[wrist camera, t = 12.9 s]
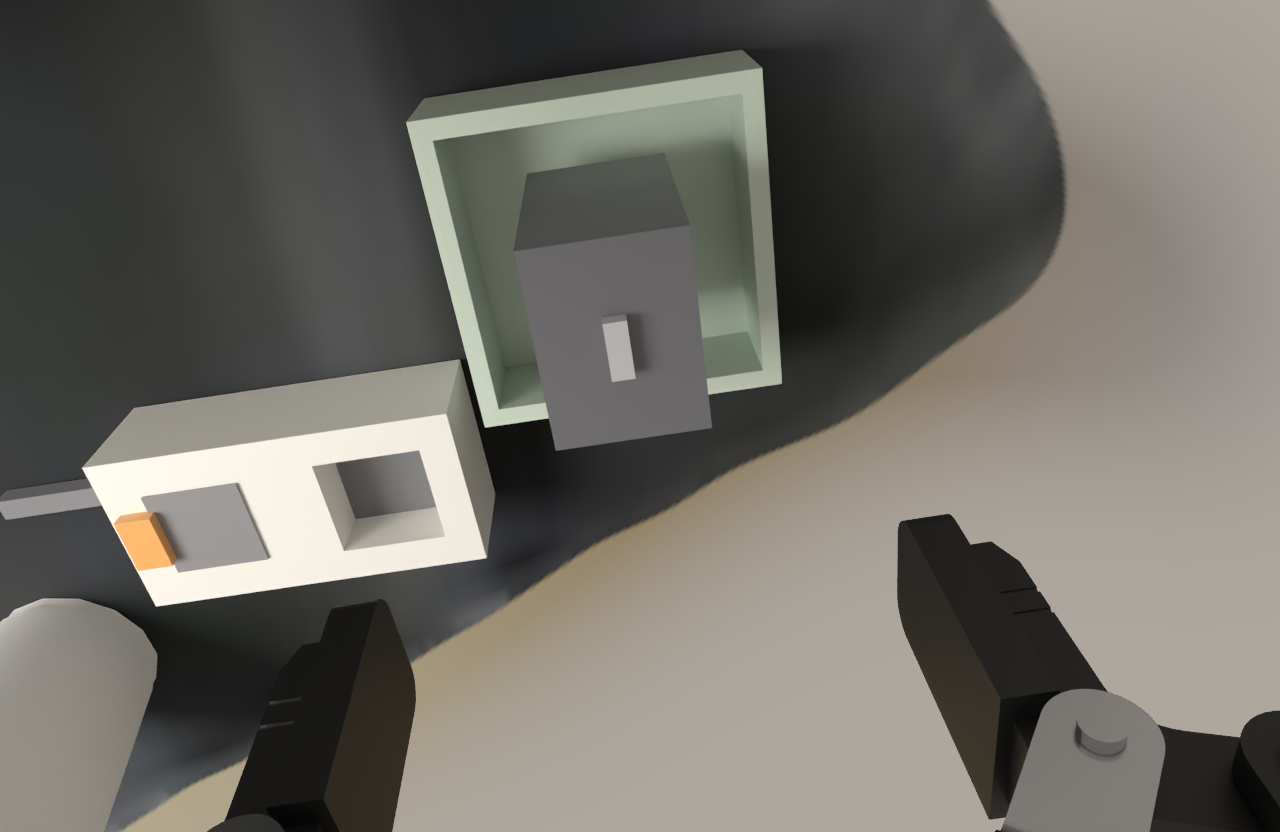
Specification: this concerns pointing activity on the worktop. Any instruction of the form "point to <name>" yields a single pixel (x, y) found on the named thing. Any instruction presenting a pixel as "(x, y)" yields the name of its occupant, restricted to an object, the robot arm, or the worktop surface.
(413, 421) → the power strip
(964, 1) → the worktop surface
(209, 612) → the worktop surface
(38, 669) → the foam cup
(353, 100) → the worktop surface
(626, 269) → the block
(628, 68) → the tray
